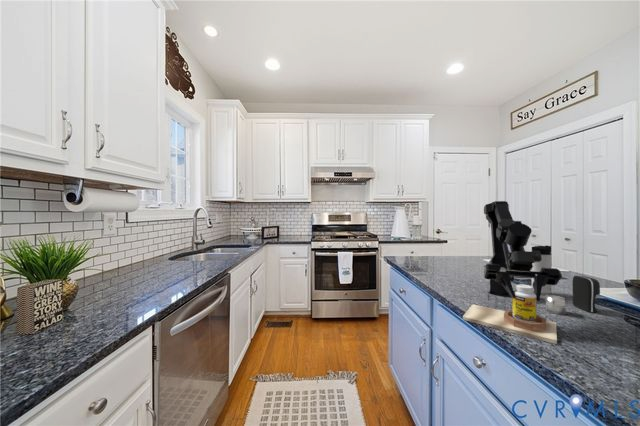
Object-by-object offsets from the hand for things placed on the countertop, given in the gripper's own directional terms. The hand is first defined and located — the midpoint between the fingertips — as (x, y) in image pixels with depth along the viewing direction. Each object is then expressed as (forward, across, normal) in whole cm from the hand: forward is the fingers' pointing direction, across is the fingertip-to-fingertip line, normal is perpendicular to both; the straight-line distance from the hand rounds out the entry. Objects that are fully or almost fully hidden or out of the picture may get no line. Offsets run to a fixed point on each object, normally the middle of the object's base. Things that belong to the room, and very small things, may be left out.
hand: (525, 299), depth 74 cm
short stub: (-7, +13, +20) cm, 25 cm away
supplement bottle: (+4, 0, +6) cm, 7 cm away
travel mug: (-22, +16, +36) cm, 45 cm away
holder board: (+5, -4, +8) cm, 10 cm away
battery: (-12, +24, +25) cm, 36 cm away
